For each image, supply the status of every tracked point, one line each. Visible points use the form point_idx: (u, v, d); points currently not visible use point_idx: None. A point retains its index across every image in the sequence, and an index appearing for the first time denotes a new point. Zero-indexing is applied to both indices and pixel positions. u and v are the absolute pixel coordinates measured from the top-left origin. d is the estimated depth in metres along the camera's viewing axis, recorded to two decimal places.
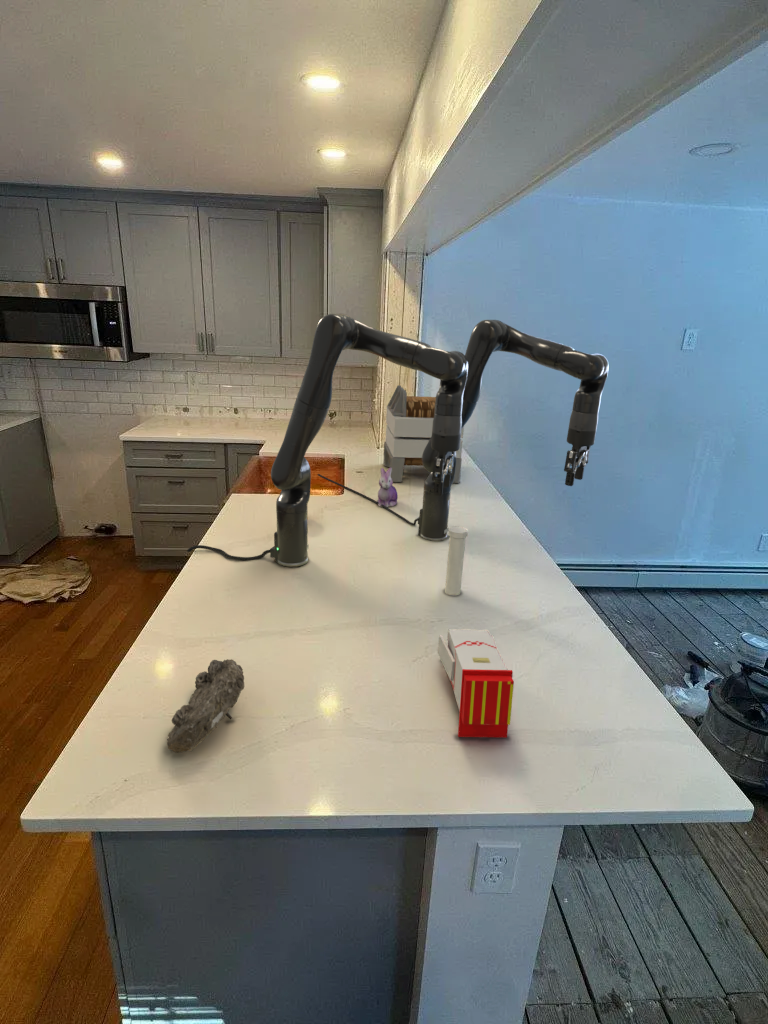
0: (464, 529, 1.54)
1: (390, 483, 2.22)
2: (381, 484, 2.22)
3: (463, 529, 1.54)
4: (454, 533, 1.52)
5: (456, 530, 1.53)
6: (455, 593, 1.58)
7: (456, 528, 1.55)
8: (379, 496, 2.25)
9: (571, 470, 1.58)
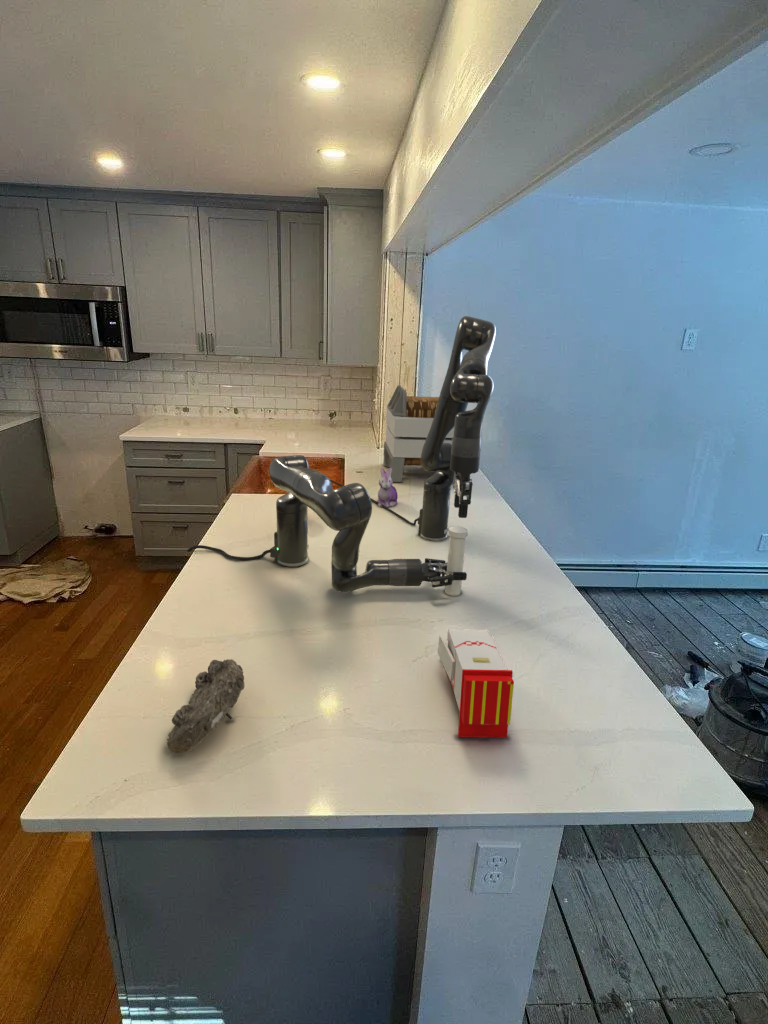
0: (464, 529, 1.54)
1: (390, 483, 2.22)
2: (381, 484, 2.22)
3: (463, 529, 1.54)
4: (454, 533, 1.52)
5: (456, 530, 1.53)
6: (455, 593, 1.58)
7: (456, 528, 1.55)
8: (379, 496, 2.25)
9: None
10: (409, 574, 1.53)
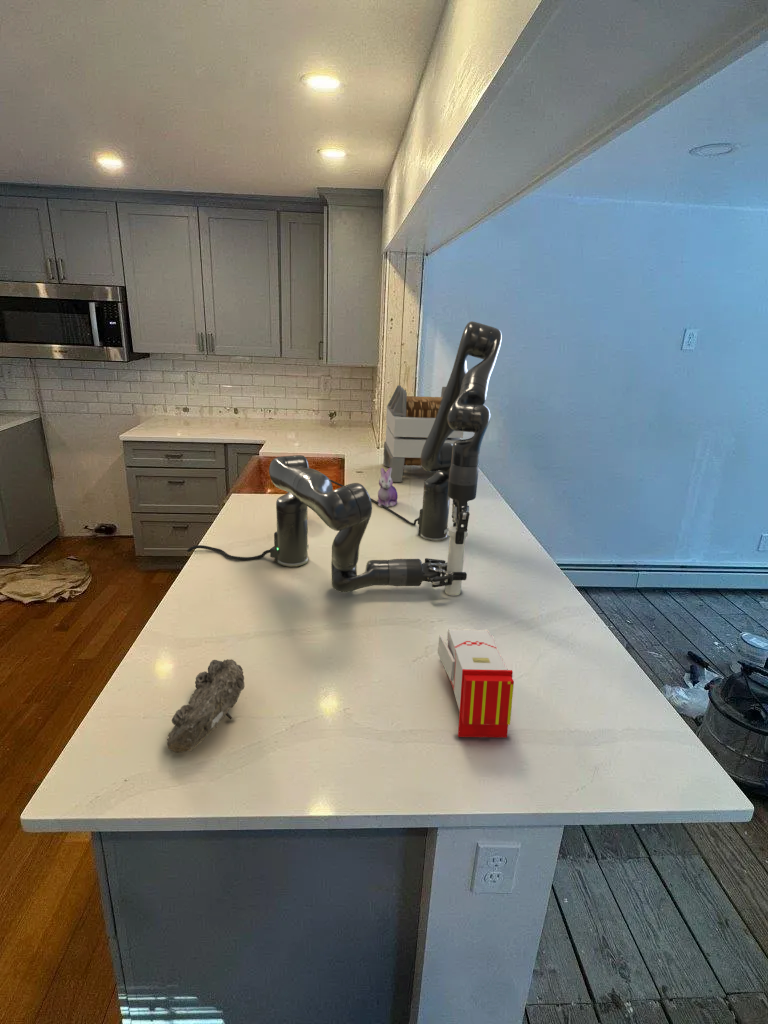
0: None
1: (390, 483, 2.22)
2: (381, 484, 2.22)
3: None
4: (454, 533, 1.52)
5: None
6: (455, 593, 1.58)
7: None
8: (379, 496, 2.25)
9: None
10: (409, 574, 1.53)
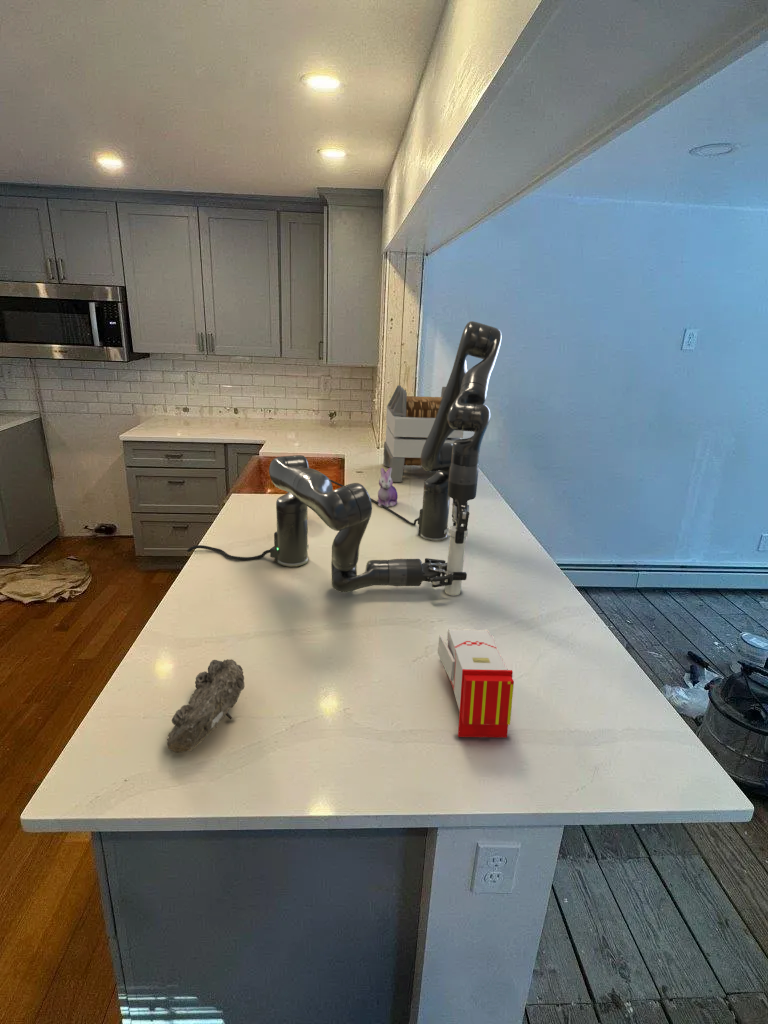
0: (455, 526, 1.55)
1: (390, 483, 2.22)
2: (381, 484, 2.22)
3: None
4: (467, 531, 1.53)
5: None
6: (455, 593, 1.58)
7: None
8: (379, 496, 2.25)
9: None
10: (409, 574, 1.53)
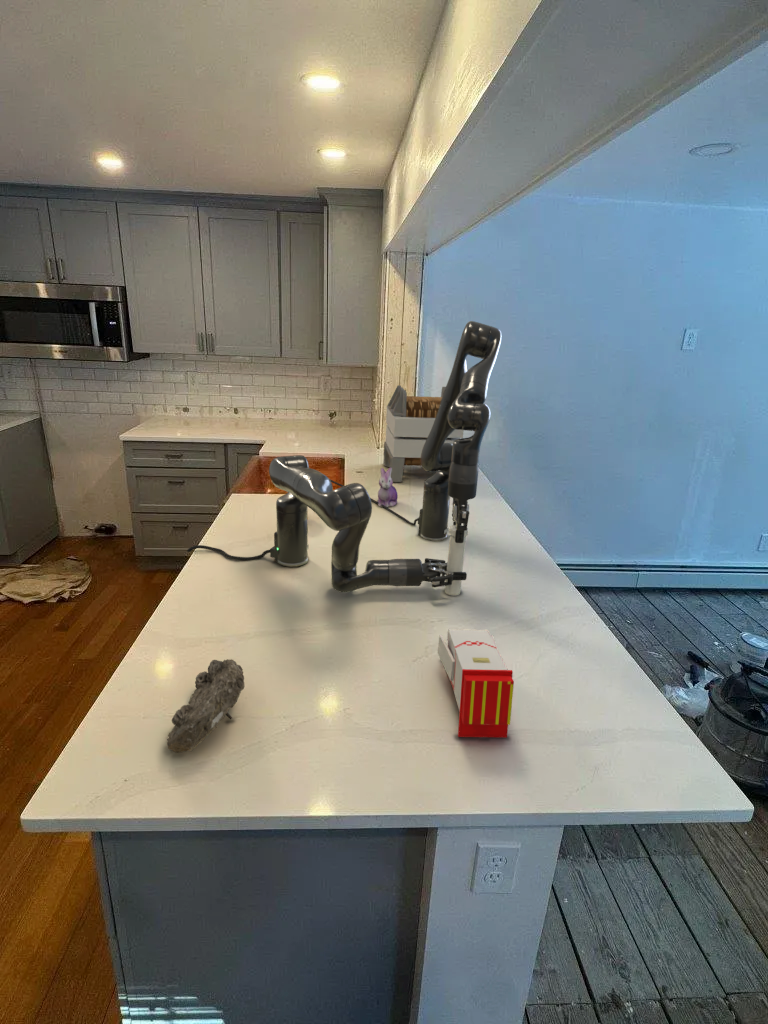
0: (454, 529, 1.53)
1: (390, 483, 2.22)
2: (381, 484, 2.22)
3: (455, 529, 1.53)
4: None
5: None
6: (455, 593, 1.58)
7: None
8: (379, 496, 2.25)
9: None
10: (409, 574, 1.53)
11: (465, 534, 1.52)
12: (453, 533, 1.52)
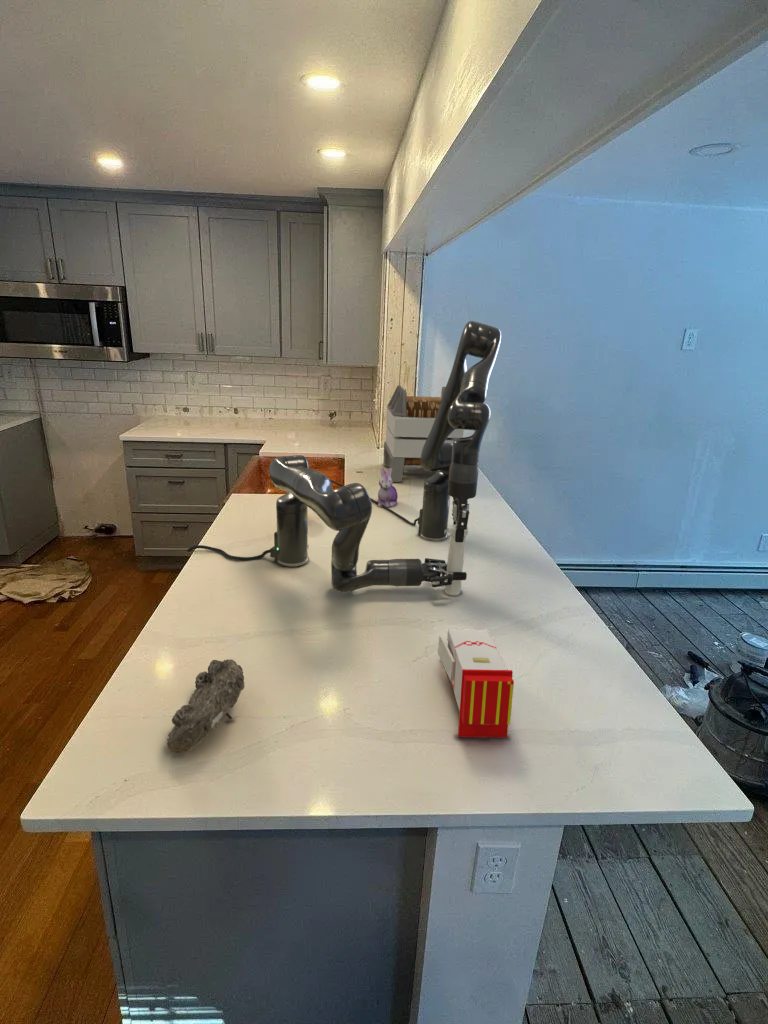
0: None
1: (390, 483, 2.22)
2: (381, 484, 2.22)
3: None
4: (450, 529, 1.53)
5: None
6: (455, 593, 1.58)
7: None
8: (379, 496, 2.25)
9: None
10: (409, 574, 1.53)
11: None
12: (467, 532, 1.53)
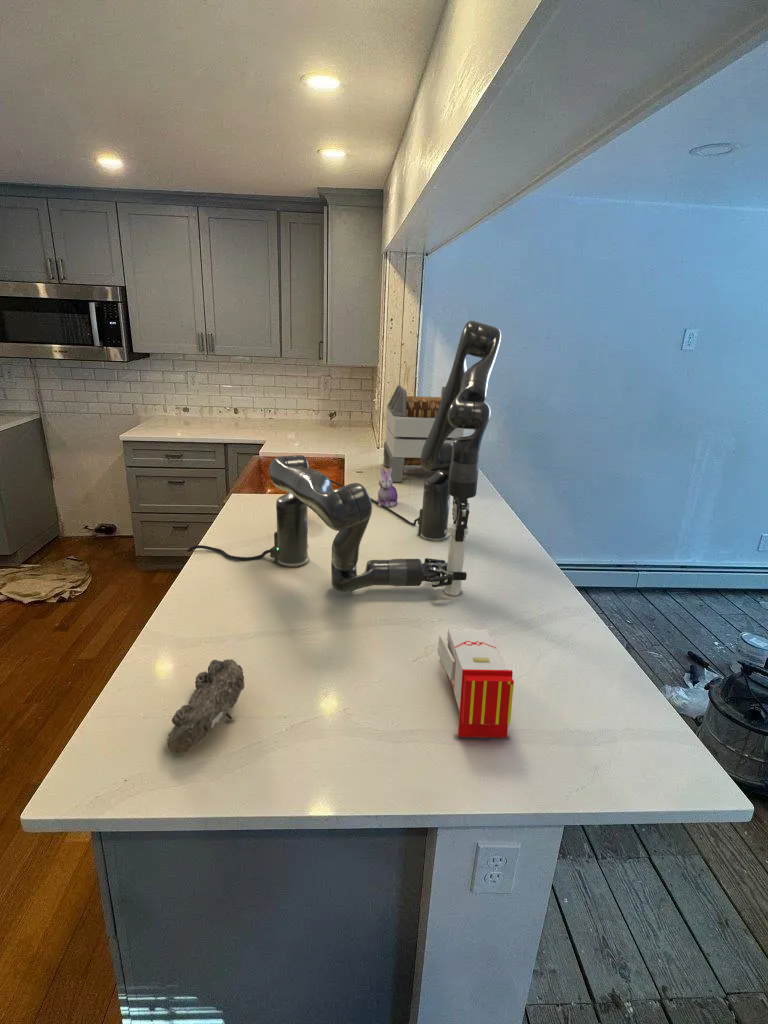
0: None
1: (390, 483, 2.22)
2: (381, 484, 2.22)
3: None
4: (464, 531, 1.52)
5: None
6: (455, 593, 1.58)
7: (455, 527, 1.54)
8: (379, 496, 2.25)
9: None
10: (409, 574, 1.53)
11: None
12: None
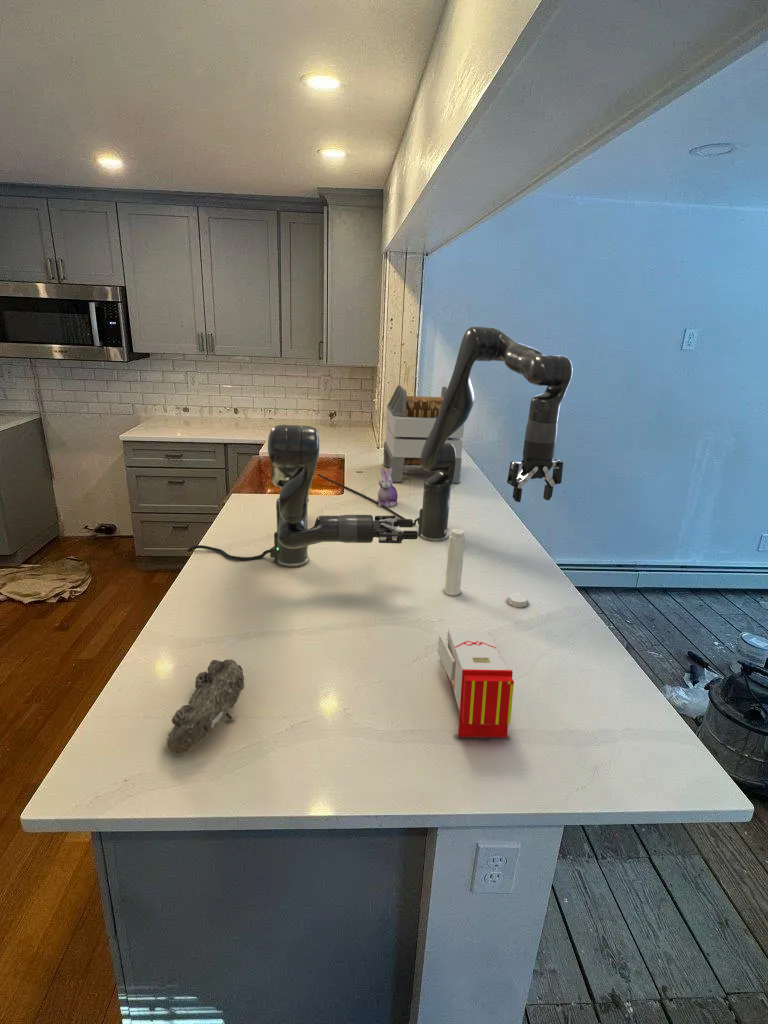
0: (512, 597, 1.55)
1: (390, 483, 2.22)
2: (381, 484, 2.22)
3: (513, 597, 1.55)
4: None
5: (520, 596, 1.56)
6: (454, 593, 1.58)
7: (520, 599, 1.55)
8: (379, 496, 2.25)
9: (511, 483, 1.41)
10: (359, 529, 1.47)
11: (519, 605, 1.53)
12: (509, 600, 1.55)
